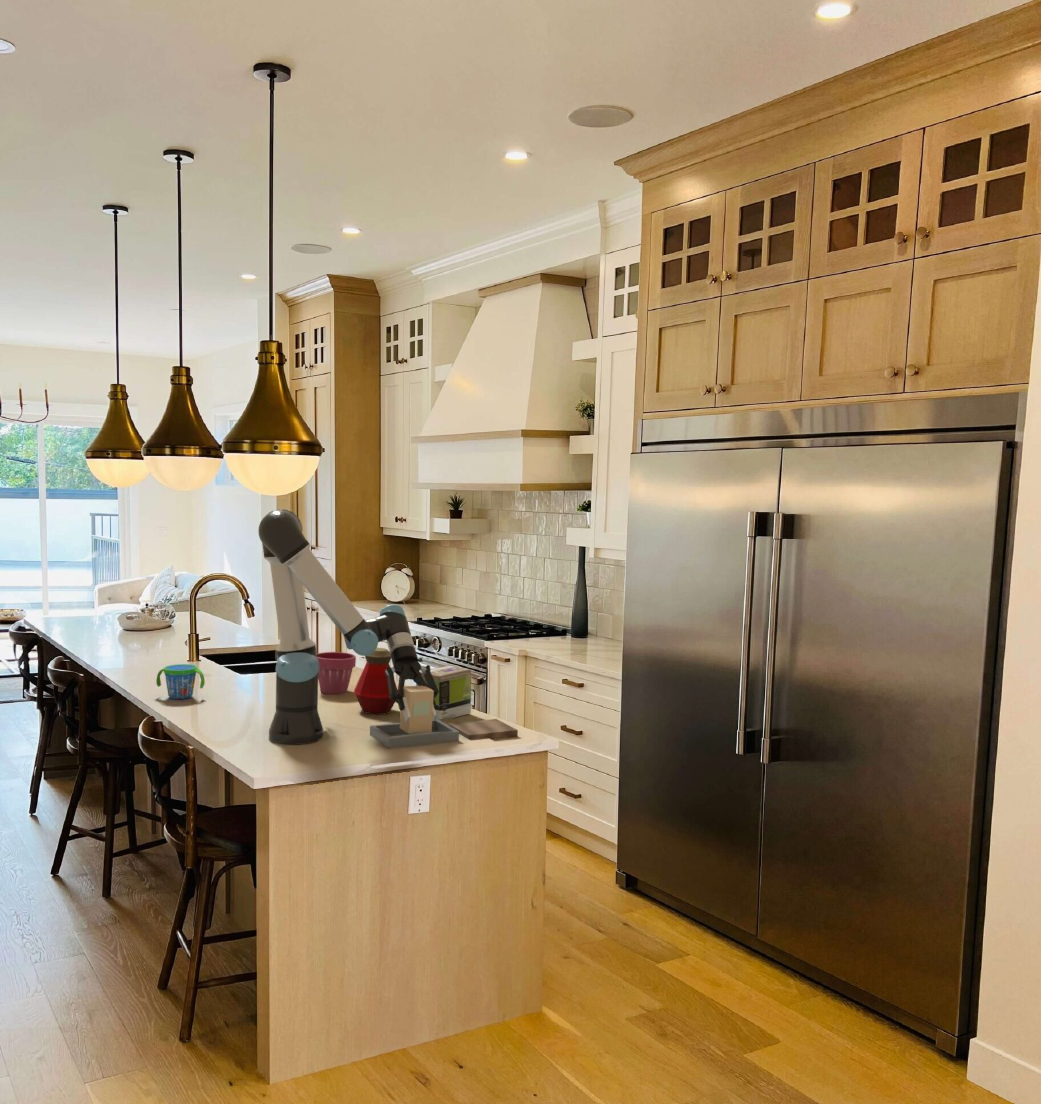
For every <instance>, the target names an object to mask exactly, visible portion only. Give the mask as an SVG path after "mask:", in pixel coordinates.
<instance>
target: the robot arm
mask: <svg viewBox="0 0 1041 1104" xmlns="http://www.w3.org/2000/svg"><path fill="white" fill-rule="evenodd" d="M257 532H258V537H259V539H260V542H261V544H262V545H261V546H262V553H263V558H264V559H265V560H266V561H267V562H269V564H270V565H269V566H270V572H271V582H272V588H273V597H274V603H275V604H274V605H275V610H276V611H275V612H276V619H277V628H278V634H279V635H278V636H279V644H278V645H277V647H276V648H275V654H276V665H275V673H276V674H275V675H276V676H275V679H276V680H275V712H274V715H273V718H272V721H271V724H270V727H269V730H268V740H270V741H271V742H274V743H276V744H277V743H278V744H282V745H304V744H305V745H306V744H310V743H311V744H312V743H315V742H316V743H317V742H318V741H321V740H322V739H324V728H323V724H322V720H321V717H320V714H319V710H318V704H319V701H318V699H319V698H318V697H319V694H318V693H319V680H318V675H319V669H320V668H319V662H318V659H317V654H318V651H317V647H316V645H317V644H316V642H314V640H312V639H311V638H310V631H309V624H308V623H309V622H308V616H307V615H308V614H307V607H306V600H305V590H304V589H306V591H307V592H308V593H309V594H310V595H311V597H312V598H313V600H315V602H316V603H317V605H319V606H320V608H321V609H322V610H323V612H324V613H325V614H326V616H327V617H328V618H329V619H330V621H331V622H332V623H333V624H334V625H335V627H336V628H337V629H338V631H339V632H340V633H341V634H342V636H343V639H344V642H345V647H346V648H347V650H353V652H354V653H356V654H357V655H358V656H362V657H365V656H367V655H370V654H372V653H373V652H374V651H375V650H376V648H378V645H379V643H380V642H381V643H382V642H384V641H386V645H387V649H388V651H389V652H390V654H391V663H392V666H390V667H387V669H386V671H385V675H386V677H387V680H388V688H389V696H390V700H396V701H395V703H396V704H397V706H398V709H399V711H403V714H404V718H405V722H408V721H409V719H410V718H411V715H410V712H409V708H408V704H407V700H406V697H403V691H404V690H403V687H405V684H406V683H405V682H406V681H407V680H412V681H413V682H414V683H416V686H426V687H428V688H430V689H432V690H433V691H434V696H433V714H432V720H434V718H435V716H436V712H435V709H434V708H435V706H436V703H435V699H434V698H435V697H436V696H437V695H438V693H439V691H438V688H437V686H436V684H435V681H434V679H433V677H432V674H431V672H430V669H431V666H430V664H427V665H421V664H420V662H419V658H418V654H417V651H416V649H415V643H414V640H413V637H412V633H411V630H410V627H409V623H408V618H407V616H406V612H405V610H404V608H403V606H401V605H398V604H396V603H395V604H394V603H393V604H388V605H386V606H385V607H382V608H381V609H380V611H379V615H378V616H377V617H373V618H369V619H368V618H367V619H365V618H364V617H363V615H361V613H360V612H359V611H358V609H357V608H356V607H355V606H354V604H353V603H352V602H351V601H350V599H349V598H348V597H347V595H346V594H345V592H344V591H343V590H342V589H341V588H340V587H339V585H338V583H336V581H335V579H334V578H332V576H331V575H330V574H329V572H328V571H327V570H326V569H325V567H324V566H323V565H322V564H321V562H320V561H319V559H318V558H317V557H316V556H315V554H314V553H313V552H312V550H311V544H310V542H309V541H308V539H307V538H306V537H305V535H304V534H303V525H302V522H301V519H300V518H299V516H297V515H296V514H295V513H294V512H292V511H291V510H288V509H285V508H284V509H281V508H280V509H274V510H271V511H270V512H268V513H267V514H266V515H265V516H264V517H262V519H261V521H260V522H259V524H258V531H257ZM420 671H422V674H424V677H425V680H426V682H427V683H426V682H425V681H424V679H423V678H422V675H421V673H420ZM394 673H395V674H396V675H397V676H398V685H397V690H398V691H397V694H396V688H395V683H396V679H395V675H394ZM402 697H403V698H402Z"/></svg>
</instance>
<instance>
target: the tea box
mask: <svg viewBox="0 0 1041 1104" xmlns="http://www.w3.org/2000/svg"><path fill="white" fill-rule="evenodd" d="M419 672H420V673H421V675H422V678H423V679H424V681H425V682H426V680H425V677H424V674H422V671H421V670H420V671H419ZM430 672H431V674H432V677H433V679H434V681H435V684H436V686H437V688H438V691H439V693H438V695H437V696H436V697H435V698H434V699H435V703H436V706H435V708H434V709H435V712H436V716H435V718H434V719H438V720H440V721H441V720H443V719H448V718H452V719H454V718H457V717H461V716H466V715H470V714H471V713H472V712H471V711H472V707H471V706H472V704H471V703H472V701H471V700H472V669H471V668H470V669H468V668H463V667H459V666H452V665H444V666H440V667H435V668H430ZM426 683H427V682H426Z"/></svg>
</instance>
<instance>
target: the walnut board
mask: <svg viewBox="0 0 1041 1104" xmlns="http://www.w3.org/2000/svg"><path fill="white" fill-rule="evenodd" d="M448 726H450V727H452V728H454V729H455V730H457V731H459V736H462V737H464V738H465V739H467V740H474V739H475V740H476V739H485V738H488V739H489V740H499V738H501V739H509V738H516V737H517V738H518V736H519V735H518V734H519V733H518V732H519V731H518V729H517V728H515V727H513V726H511V725H509V724H507V723H505V722H503V721H501V720H499V719H497V718H491V719H484V720H483V719H482V720H472V721H471V720H470V721H462V722H452V723H451V722H450V723H448Z"/></svg>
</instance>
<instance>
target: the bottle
mask: <svg viewBox="0 0 1041 1104" xmlns="http://www.w3.org/2000/svg"><path fill="white" fill-rule="evenodd" d="M364 657H365V660H366V663H365V665H364V668H363V669H362V671H361V674H360V675H359V679H358V680H357V683H356V685H355V687H354V689H353V693H354V695H355V697H356V698H355V699H357V702H358V704H359V706H360V708H361V710H362V712H363V711H364V713H365V712H367V713H366V714H369V713H373V714H372V715H384V714H383V713H386V714H389V713H390V712H391V710H392V709H393V707H394V705H395V703H396V702H395V701H396V700H390V696H389V688H388V680H387V677H386V675H385V671H386V669H387V667H391V666H390V662H391V661H392V659H391V654H390V652H389V649H388V648H385V647H377V648H376V650H375V651H374V652H373V653H372V654H370V655H367V656H364ZM395 688H396V694H397V691H398V685H397V684H396V682H395ZM388 712H389V713H388Z"/></svg>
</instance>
